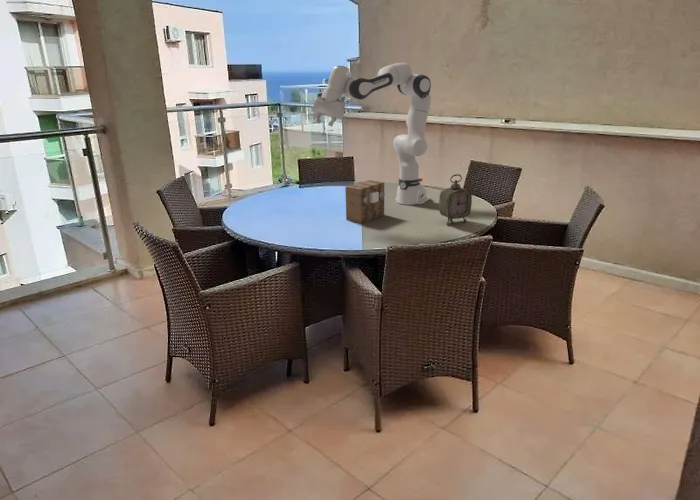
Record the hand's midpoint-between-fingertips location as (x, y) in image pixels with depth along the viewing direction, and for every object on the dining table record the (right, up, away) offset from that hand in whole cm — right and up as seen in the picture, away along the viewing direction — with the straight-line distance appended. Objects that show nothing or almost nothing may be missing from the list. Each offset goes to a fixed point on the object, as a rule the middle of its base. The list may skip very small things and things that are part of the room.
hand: (323, 124), depth 247 cm
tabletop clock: (+66, -50, +2) cm, 83 cm away
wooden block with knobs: (+22, -47, +13) cm, 53 cm away
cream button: (+25, -39, +8) cm, 47 cm away
